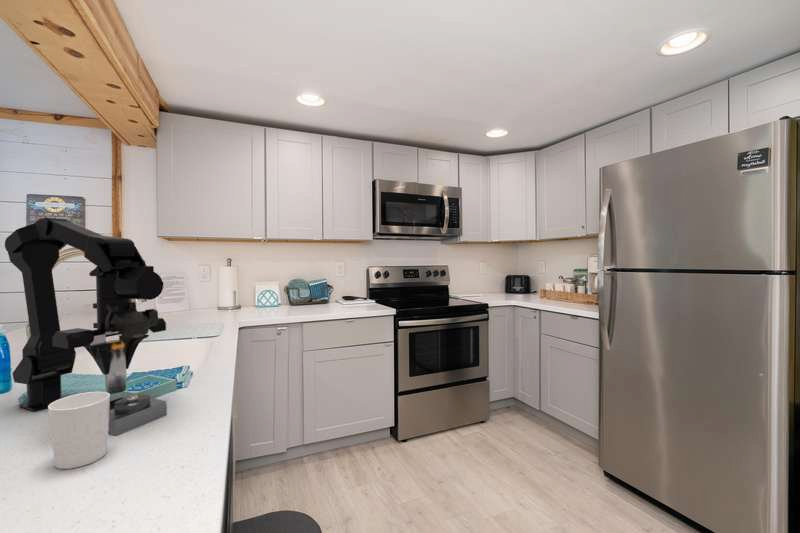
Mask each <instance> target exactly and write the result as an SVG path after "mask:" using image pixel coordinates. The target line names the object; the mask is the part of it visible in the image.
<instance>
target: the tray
mask: <svg viewBox="0 0 800 533" xmlns="http://www.w3.org/2000/svg"><path fill="white" fill-rule="evenodd" d="M148 380H153V381H157V382H162V383H163V384H160V385H157V386H154V387H151V388H148V389H145V390H141V391H127V390H125V391H123V392H120V393H115V394H110V399H113V398H116V397H119V396H122V395H125V394H129V393H133V394H137V395H148V396H150V397H151V398H155V399H156V398H157V397H160V396H163V395H165V394H168V393H171V392H174V391H176V390H178V386H177V385H178V383H177V382H178V380H177V379H175V378H170V377H163V376H160V375H159V376H158V375H154V374H153V375H152V374H147V375H145V376H142V377H138V378H135V379H132V380H127V388H128V387H130V386H132V385H134V384H137V383H141V382H144V381H148Z"/></svg>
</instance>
